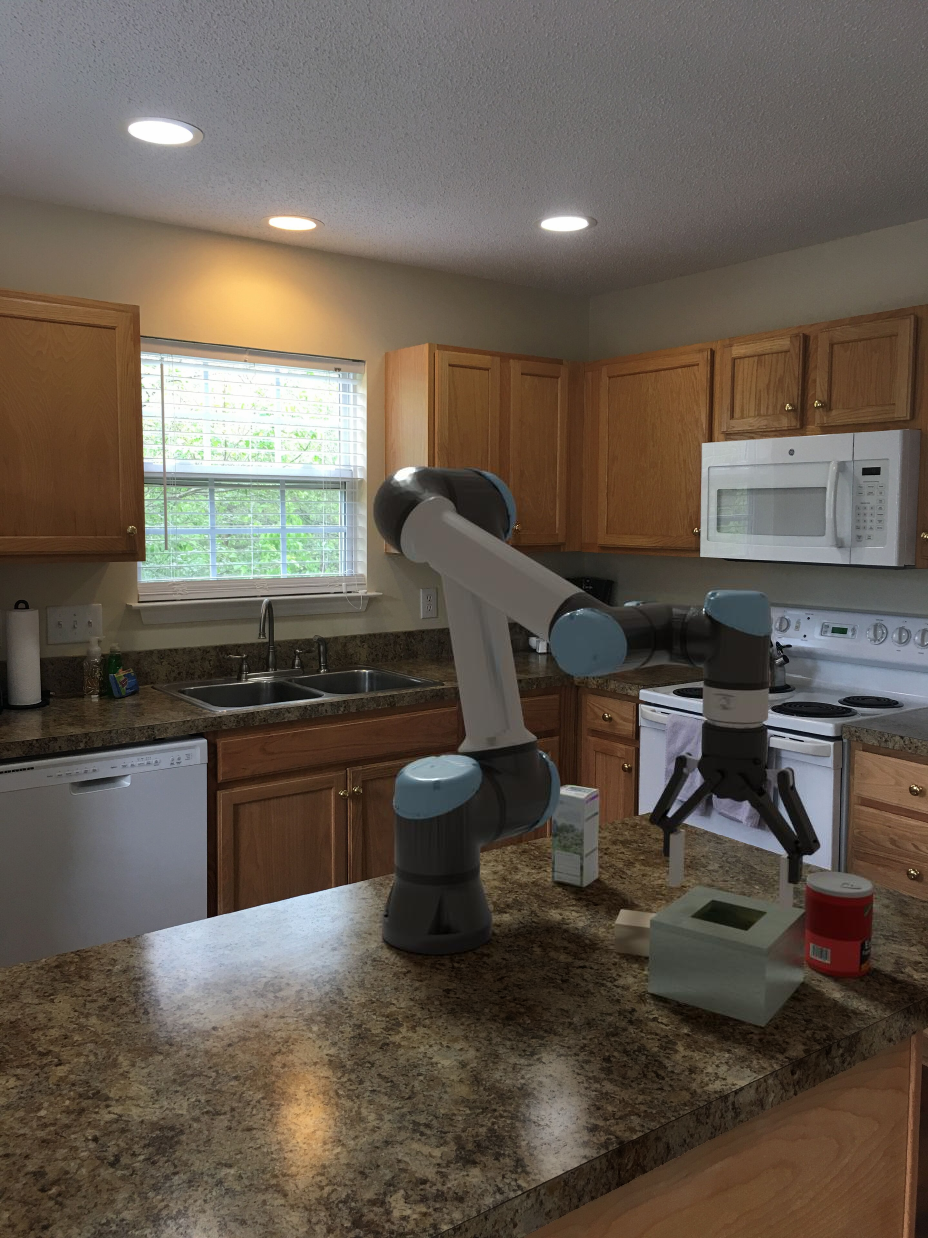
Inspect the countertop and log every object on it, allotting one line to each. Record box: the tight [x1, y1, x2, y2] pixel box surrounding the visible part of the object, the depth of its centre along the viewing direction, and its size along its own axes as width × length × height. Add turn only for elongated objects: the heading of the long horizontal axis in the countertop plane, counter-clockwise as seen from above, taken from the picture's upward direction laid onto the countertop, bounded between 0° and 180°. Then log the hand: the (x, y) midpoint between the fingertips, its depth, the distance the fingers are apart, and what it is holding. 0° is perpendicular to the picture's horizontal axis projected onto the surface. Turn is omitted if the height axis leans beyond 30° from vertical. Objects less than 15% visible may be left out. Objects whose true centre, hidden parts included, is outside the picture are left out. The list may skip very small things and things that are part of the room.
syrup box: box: [551, 784, 600, 888], centre depth 157 cm, size 6×6×14 cm
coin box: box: [647, 885, 806, 1028], centre depth 121 cm, size 14×14×9 cm
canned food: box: [804, 871, 875, 979], centre depth 127 cm, size 8×8×11 cm
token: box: [613, 908, 658, 958], centre depth 132 cm, size 5×5×4 cm
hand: (729, 896), depth 120 cm, fingers open, 13 cm apart
